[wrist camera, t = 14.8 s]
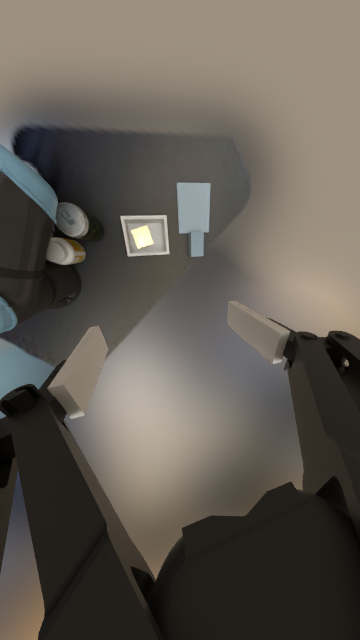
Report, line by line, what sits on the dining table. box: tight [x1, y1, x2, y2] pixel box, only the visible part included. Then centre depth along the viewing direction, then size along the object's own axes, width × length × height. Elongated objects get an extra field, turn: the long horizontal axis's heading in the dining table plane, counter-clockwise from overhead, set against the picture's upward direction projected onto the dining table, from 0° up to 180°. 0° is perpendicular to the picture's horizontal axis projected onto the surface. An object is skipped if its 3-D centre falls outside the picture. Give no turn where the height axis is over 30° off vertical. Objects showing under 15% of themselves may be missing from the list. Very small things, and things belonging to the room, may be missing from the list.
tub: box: [120, 215, 169, 256], centre depth 36 cm, size 10×8×6 cm
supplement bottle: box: [47, 237, 86, 265], centre depth 33 cm, size 5×5×10 cm
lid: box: [176, 183, 210, 257], centre depth 38 cm, size 17×9×4 cm, turn 1°
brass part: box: [131, 225, 153, 249], centre depth 36 cm, size 4×4×4 cm
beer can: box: [55, 202, 103, 241], centre depth 30 cm, size 5×5×12 cm
